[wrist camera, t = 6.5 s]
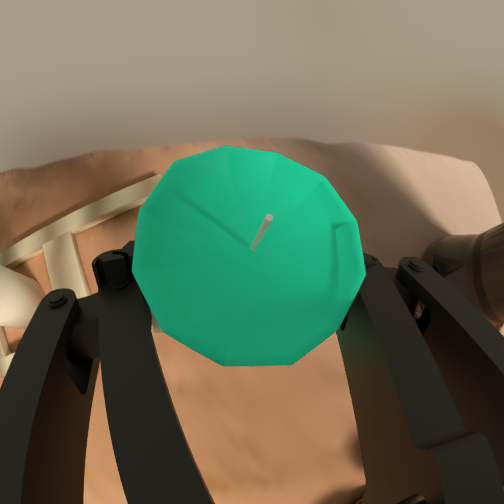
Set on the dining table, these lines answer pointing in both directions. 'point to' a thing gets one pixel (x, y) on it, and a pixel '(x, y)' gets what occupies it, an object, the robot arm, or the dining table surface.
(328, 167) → the dining table surface
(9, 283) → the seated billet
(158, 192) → the candle
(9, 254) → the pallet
